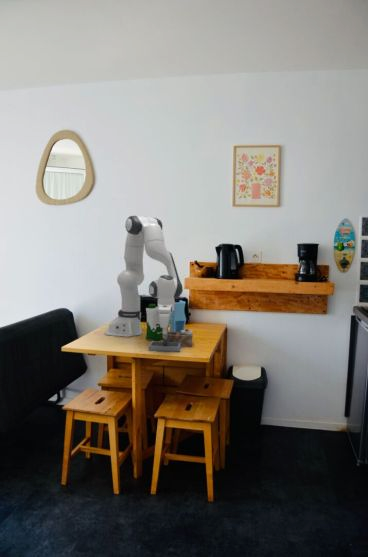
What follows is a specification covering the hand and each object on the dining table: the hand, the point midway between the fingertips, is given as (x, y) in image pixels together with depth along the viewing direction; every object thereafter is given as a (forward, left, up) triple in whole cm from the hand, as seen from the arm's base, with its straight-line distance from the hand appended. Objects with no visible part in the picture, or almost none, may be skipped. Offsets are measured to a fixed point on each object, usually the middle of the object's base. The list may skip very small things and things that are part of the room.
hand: (165, 332), depth 216 cm
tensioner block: (+7, +10, -9) cm, 15 cm away
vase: (+4, +34, -9) cm, 35 cm away
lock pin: (0, 0, -8) cm, 8 cm away
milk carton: (-8, +20, -9) cm, 23 cm away
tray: (0, 0, -9) cm, 9 cm away
